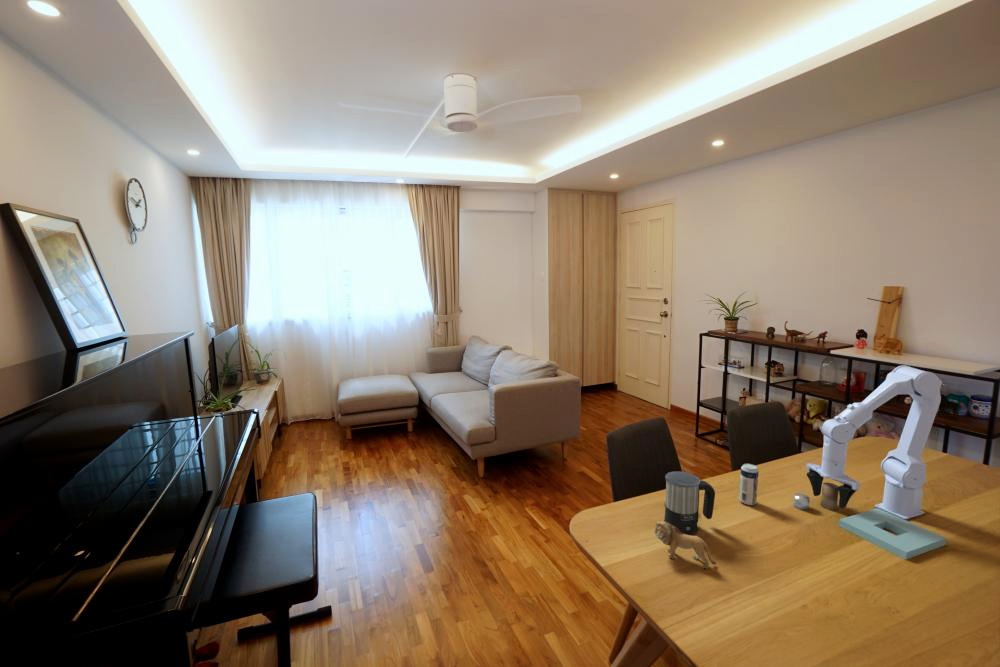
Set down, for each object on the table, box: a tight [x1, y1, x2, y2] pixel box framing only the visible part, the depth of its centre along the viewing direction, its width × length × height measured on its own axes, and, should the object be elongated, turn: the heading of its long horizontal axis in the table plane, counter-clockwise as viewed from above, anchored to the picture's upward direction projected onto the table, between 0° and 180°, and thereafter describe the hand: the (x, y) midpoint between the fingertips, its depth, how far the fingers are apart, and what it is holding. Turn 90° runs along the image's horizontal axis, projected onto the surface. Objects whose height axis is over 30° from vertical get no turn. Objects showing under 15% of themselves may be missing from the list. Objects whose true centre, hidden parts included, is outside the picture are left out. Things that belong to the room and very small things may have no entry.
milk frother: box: [663, 470, 716, 536], centre depth 130 cm, size 14×16×15 cm
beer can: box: [738, 463, 760, 506], centre depth 139 cm, size 5×5×12 cm
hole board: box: [838, 507, 947, 560], centre depth 122 cm, size 17×16×2 cm
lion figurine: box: [654, 520, 717, 570], centre depth 112 cm, size 15×5×9 cm, turn 69°
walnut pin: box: [820, 482, 839, 511], centre depth 136 cm, size 4×4×7 cm
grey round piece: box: [792, 492, 811, 511], centre depth 137 cm, size 4×4×4 cm
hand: (829, 501), depth 137 cm, fingers open, 7 cm apart
